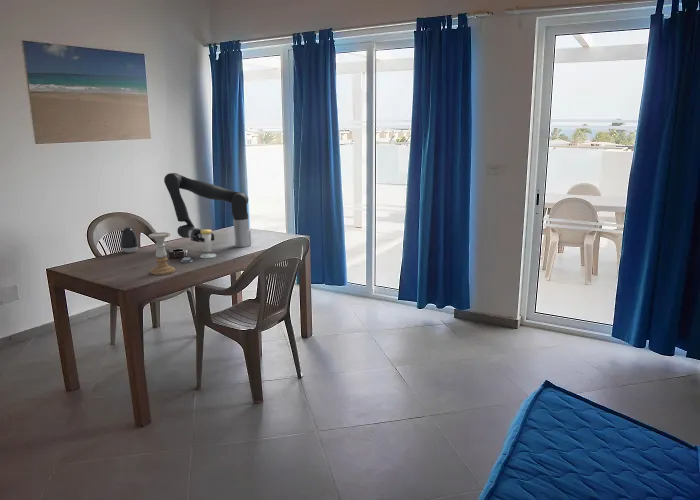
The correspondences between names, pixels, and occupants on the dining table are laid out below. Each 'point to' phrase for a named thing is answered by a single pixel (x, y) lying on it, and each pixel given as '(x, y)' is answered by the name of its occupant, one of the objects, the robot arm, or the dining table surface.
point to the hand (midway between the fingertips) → (208, 239)
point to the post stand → (186, 260)
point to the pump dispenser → (128, 240)
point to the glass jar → (206, 240)
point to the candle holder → (161, 255)
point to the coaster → (208, 255)
